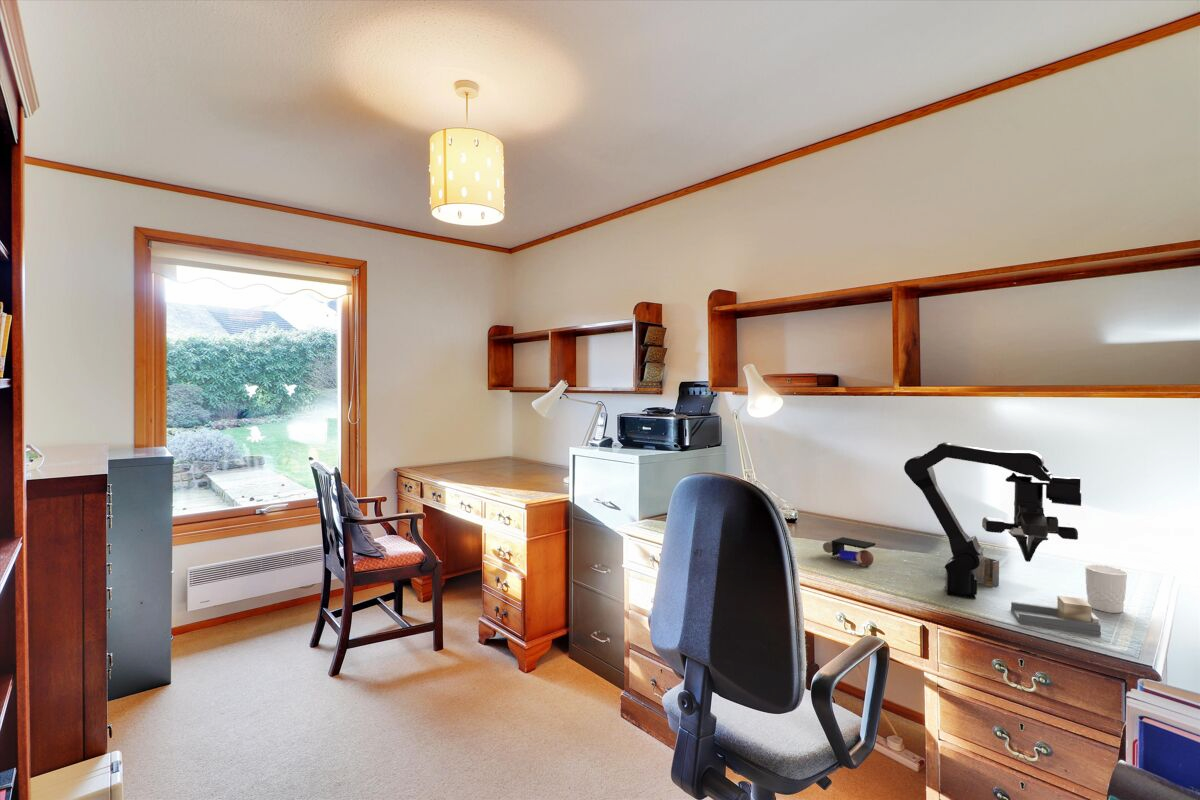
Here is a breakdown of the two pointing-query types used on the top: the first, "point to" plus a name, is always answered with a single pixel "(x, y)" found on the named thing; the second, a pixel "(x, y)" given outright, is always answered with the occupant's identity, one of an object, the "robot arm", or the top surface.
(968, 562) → the robot arm
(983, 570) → the brown piece
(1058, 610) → the birch block
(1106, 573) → the white cup
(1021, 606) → the chute
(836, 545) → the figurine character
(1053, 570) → the top surface
